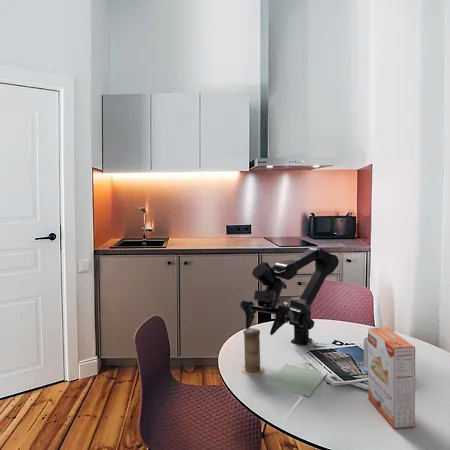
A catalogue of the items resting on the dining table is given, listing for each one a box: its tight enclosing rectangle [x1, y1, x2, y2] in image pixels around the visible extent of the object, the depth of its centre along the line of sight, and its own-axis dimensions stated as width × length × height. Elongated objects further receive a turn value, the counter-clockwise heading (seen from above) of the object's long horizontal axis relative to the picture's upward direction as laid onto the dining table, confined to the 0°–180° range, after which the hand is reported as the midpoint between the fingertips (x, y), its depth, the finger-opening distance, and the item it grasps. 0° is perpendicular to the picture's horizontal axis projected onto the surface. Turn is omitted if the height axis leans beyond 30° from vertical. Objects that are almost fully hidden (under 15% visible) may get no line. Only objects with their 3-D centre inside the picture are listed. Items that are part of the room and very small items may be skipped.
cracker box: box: [367, 326, 416, 430], centre depth 102 cm, size 14×6×21 cm, turn 5°
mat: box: [264, 363, 325, 398], centre depth 122 cm, size 16×14×1 cm
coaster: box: [240, 364, 266, 376], centre depth 129 cm, size 8×8×1 cm
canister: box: [243, 327, 261, 373], centre depth 128 cm, size 5×5×13 cm
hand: (258, 332), depth 132 cm, fingers open, 9 cm apart
